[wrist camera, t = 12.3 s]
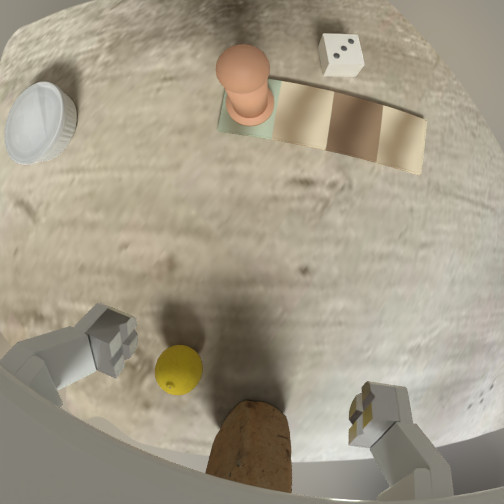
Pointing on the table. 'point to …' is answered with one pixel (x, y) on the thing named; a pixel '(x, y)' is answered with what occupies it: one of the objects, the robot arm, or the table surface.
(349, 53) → the die
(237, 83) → the round-topped peg
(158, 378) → the lemon
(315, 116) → the board
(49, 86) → the ramekin
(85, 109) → the table surface
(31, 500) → the robot arm
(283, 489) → the block
